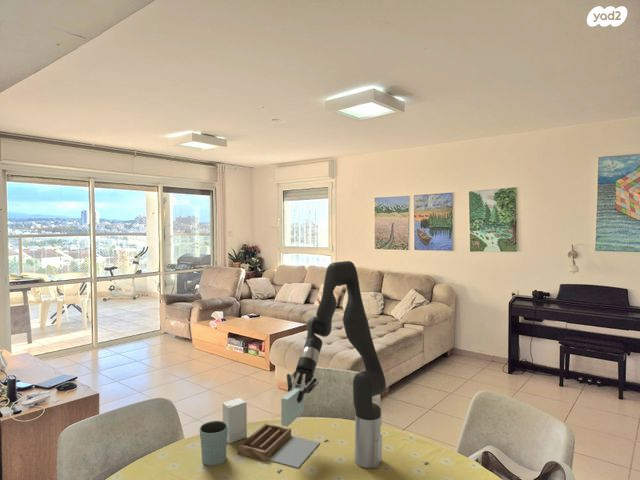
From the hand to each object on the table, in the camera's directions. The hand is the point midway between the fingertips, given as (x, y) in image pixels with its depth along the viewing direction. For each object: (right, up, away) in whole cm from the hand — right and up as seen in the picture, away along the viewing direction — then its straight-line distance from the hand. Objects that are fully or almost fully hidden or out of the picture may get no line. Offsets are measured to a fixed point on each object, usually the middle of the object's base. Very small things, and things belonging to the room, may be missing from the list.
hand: (294, 401), depth 158 cm
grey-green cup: (-29, -19, -7) cm, 36 cm away
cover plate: (-1, -6, -1) cm, 6 cm away
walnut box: (-12, -19, +4) cm, 22 cm away
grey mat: (0, -19, -1) cm, 19 cm away
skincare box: (-25, -19, +8) cm, 32 cm away
